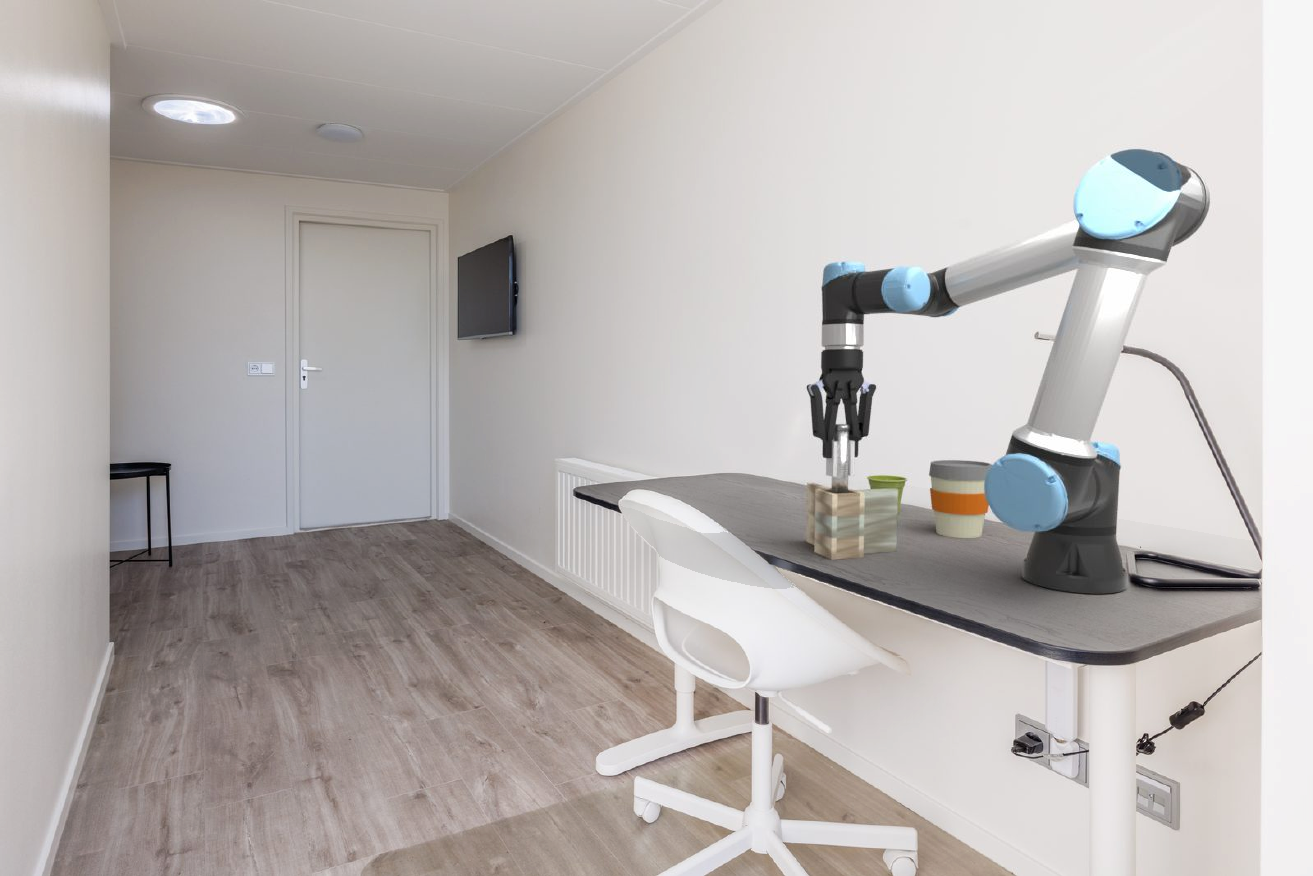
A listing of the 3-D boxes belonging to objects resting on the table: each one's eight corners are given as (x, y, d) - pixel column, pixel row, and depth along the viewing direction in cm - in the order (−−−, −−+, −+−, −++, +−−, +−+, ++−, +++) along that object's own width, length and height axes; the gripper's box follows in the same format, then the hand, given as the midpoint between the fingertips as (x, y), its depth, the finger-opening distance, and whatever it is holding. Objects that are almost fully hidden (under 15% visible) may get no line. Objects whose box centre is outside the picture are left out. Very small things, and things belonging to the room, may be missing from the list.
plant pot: (906, 510, 194) (907, 475, 193) (906, 517, 185) (907, 481, 184) (867, 508, 197) (867, 474, 196) (865, 515, 188) (866, 479, 187)
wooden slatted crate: (904, 554, 147) (906, 491, 146) (831, 559, 143) (832, 494, 142) (861, 537, 162) (862, 480, 161) (794, 542, 158) (794, 483, 157)
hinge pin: (851, 505, 145) (852, 424, 144) (836, 506, 145) (837, 425, 143) (842, 502, 148) (844, 423, 147) (827, 503, 148) (828, 424, 146)
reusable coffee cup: (985, 542, 158) (987, 468, 156) (921, 535, 164) (923, 464, 163) (995, 531, 168) (997, 462, 167) (934, 525, 175) (936, 458, 174)
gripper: (869, 349, 150) (867, 471, 152) (793, 348, 145) (791, 474, 147) (891, 348, 143) (889, 476, 145) (812, 347, 138) (810, 479, 140)
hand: (840, 475), depth 146 cm, fingers closed on hinge pin, 3 cm apart
